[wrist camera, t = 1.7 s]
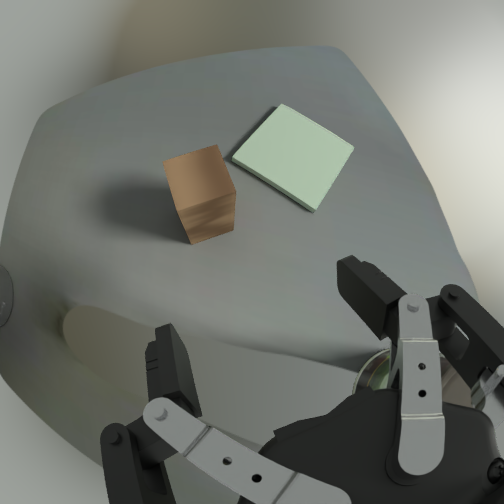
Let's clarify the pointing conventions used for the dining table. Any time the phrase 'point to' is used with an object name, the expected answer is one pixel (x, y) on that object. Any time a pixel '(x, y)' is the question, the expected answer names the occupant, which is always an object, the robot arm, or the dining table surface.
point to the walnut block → (202, 193)
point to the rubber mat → (294, 156)
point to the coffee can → (378, 373)
